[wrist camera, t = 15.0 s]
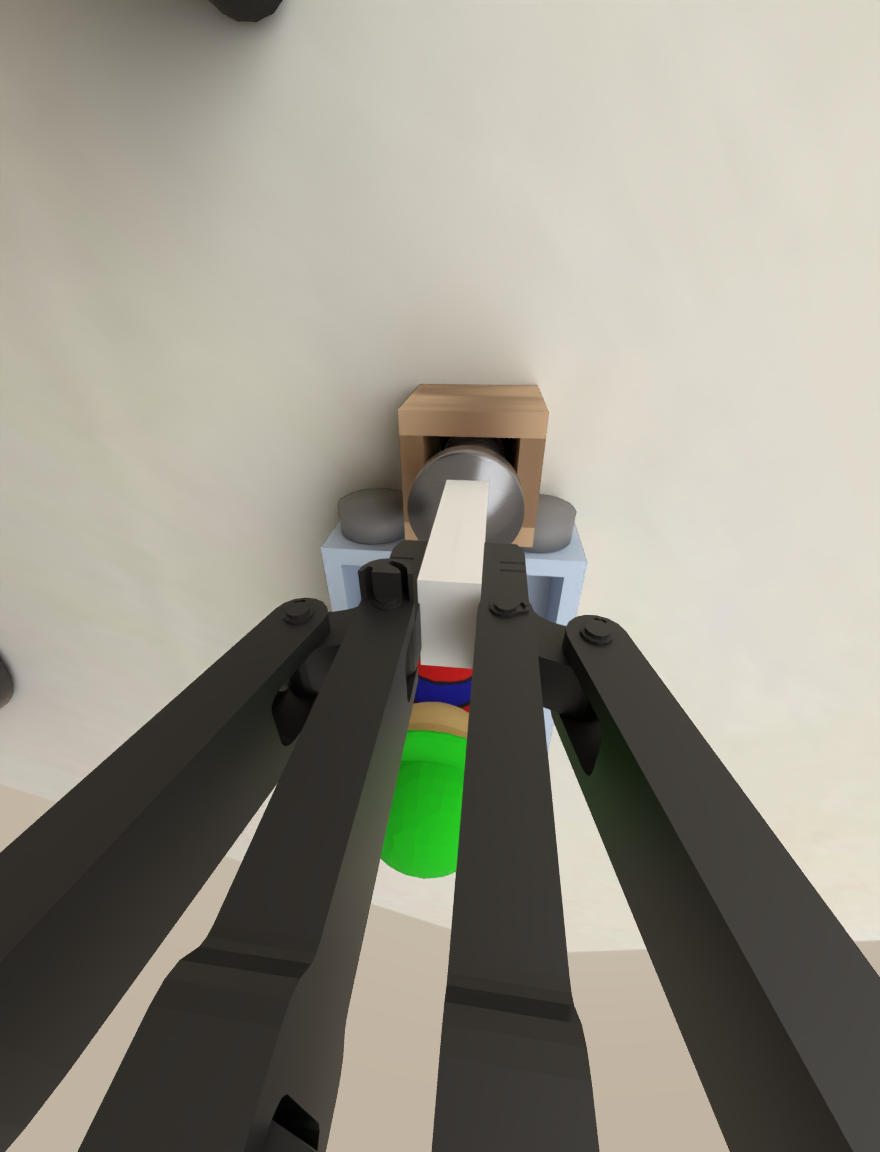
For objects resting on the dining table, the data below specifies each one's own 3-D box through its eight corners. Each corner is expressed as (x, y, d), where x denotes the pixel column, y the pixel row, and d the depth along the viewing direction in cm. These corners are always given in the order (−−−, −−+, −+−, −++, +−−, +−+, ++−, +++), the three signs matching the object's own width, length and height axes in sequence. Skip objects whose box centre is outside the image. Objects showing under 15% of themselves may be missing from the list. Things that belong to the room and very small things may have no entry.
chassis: (373, 712, 37) (358, 758, 34) (341, 486, 26) (315, 519, 22) (538, 726, 36) (542, 777, 32) (579, 495, 25) (593, 531, 21)
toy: (531, 687, 32) (551, 938, 20) (420, 699, 34) (373, 932, 22) (498, 551, 26) (497, 787, 14) (366, 575, 28) (261, 798, 16)
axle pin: (432, 492, 24) (410, 559, 18) (431, 408, 21) (404, 453, 15) (514, 495, 23) (518, 565, 17) (521, 409, 21) (530, 456, 15)
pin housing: (423, 493, 26) (405, 541, 21) (420, 384, 22) (397, 409, 17) (526, 496, 25) (532, 547, 20) (538, 385, 22) (549, 412, 17)
